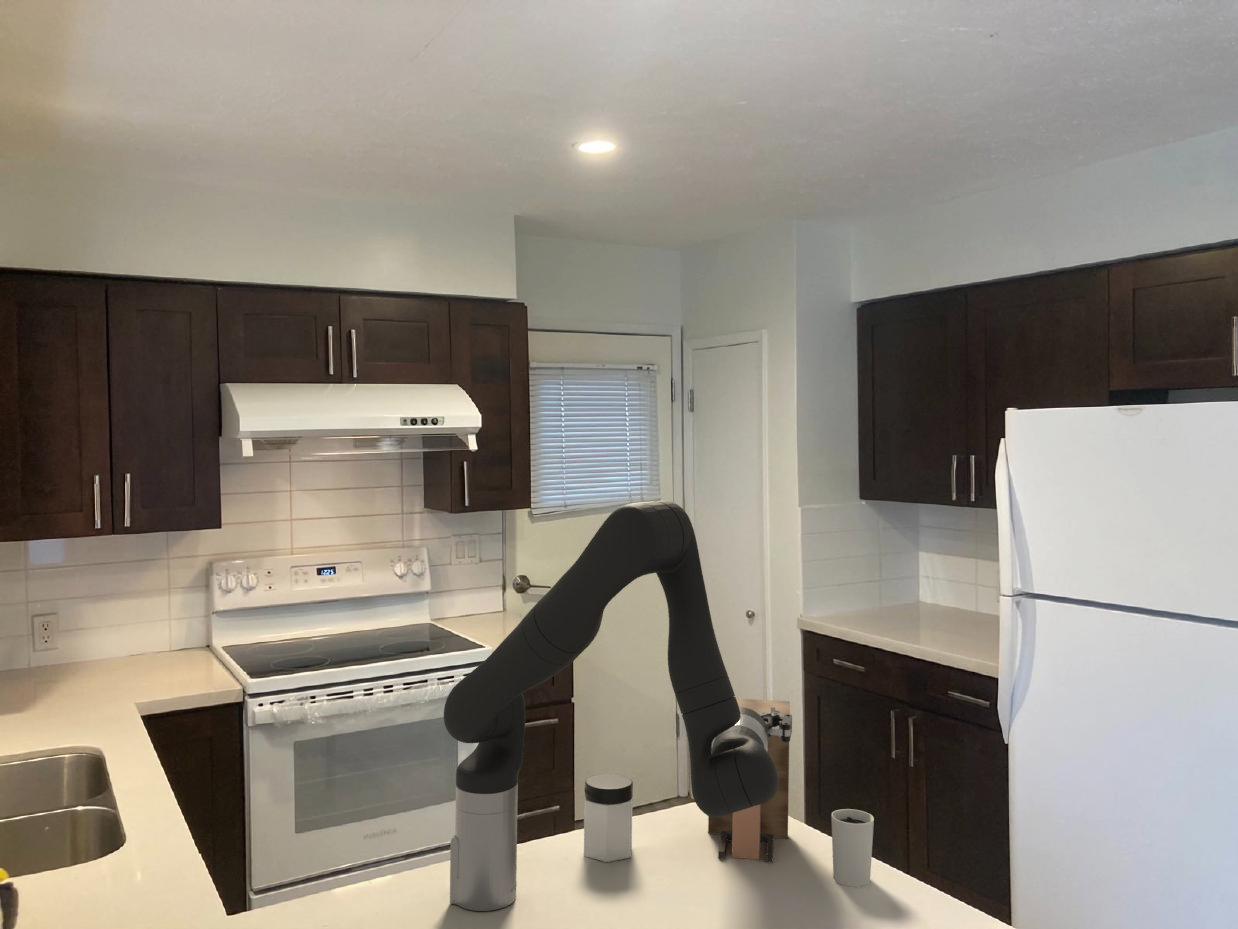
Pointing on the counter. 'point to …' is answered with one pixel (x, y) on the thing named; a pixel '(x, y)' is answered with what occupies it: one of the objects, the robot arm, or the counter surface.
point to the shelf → (777, 807)
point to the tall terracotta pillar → (746, 833)
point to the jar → (608, 817)
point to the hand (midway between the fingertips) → (744, 712)
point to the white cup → (852, 847)
